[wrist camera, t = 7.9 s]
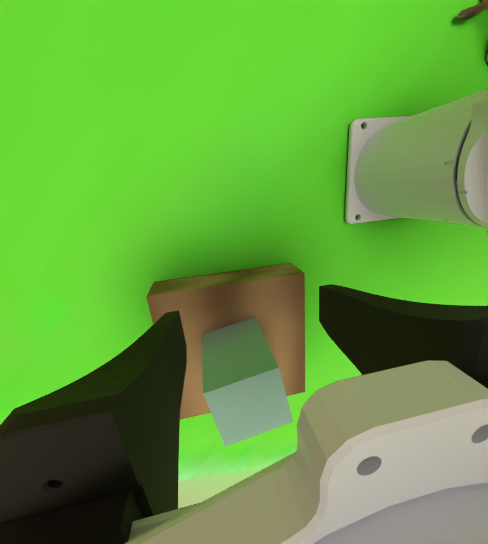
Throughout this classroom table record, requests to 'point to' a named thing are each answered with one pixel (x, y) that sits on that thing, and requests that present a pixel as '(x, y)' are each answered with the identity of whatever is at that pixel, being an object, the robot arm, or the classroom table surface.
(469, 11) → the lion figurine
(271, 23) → the classroom table surface
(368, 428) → the robot arm
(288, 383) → the walnut base
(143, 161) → the classroom table surface
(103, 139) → the classroom table surface
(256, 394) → the teal block
